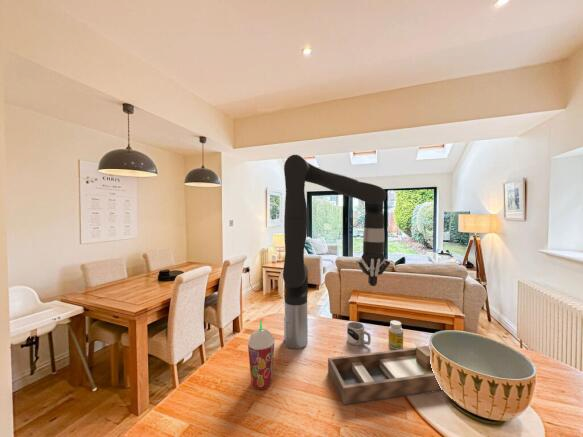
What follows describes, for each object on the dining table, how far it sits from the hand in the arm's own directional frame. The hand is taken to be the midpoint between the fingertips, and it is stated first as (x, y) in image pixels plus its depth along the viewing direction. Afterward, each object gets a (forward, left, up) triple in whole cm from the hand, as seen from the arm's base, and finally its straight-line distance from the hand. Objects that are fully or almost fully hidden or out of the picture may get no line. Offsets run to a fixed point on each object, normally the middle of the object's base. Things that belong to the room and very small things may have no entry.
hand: (372, 285), depth 93 cm
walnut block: (+11, -16, -22) cm, 30 cm away
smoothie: (-43, -10, -26) cm, 51 cm away
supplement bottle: (+10, +1, -26) cm, 28 cm away
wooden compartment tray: (-3, -16, -25) cm, 30 cm away
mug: (-3, +6, -26) cm, 27 cm away
